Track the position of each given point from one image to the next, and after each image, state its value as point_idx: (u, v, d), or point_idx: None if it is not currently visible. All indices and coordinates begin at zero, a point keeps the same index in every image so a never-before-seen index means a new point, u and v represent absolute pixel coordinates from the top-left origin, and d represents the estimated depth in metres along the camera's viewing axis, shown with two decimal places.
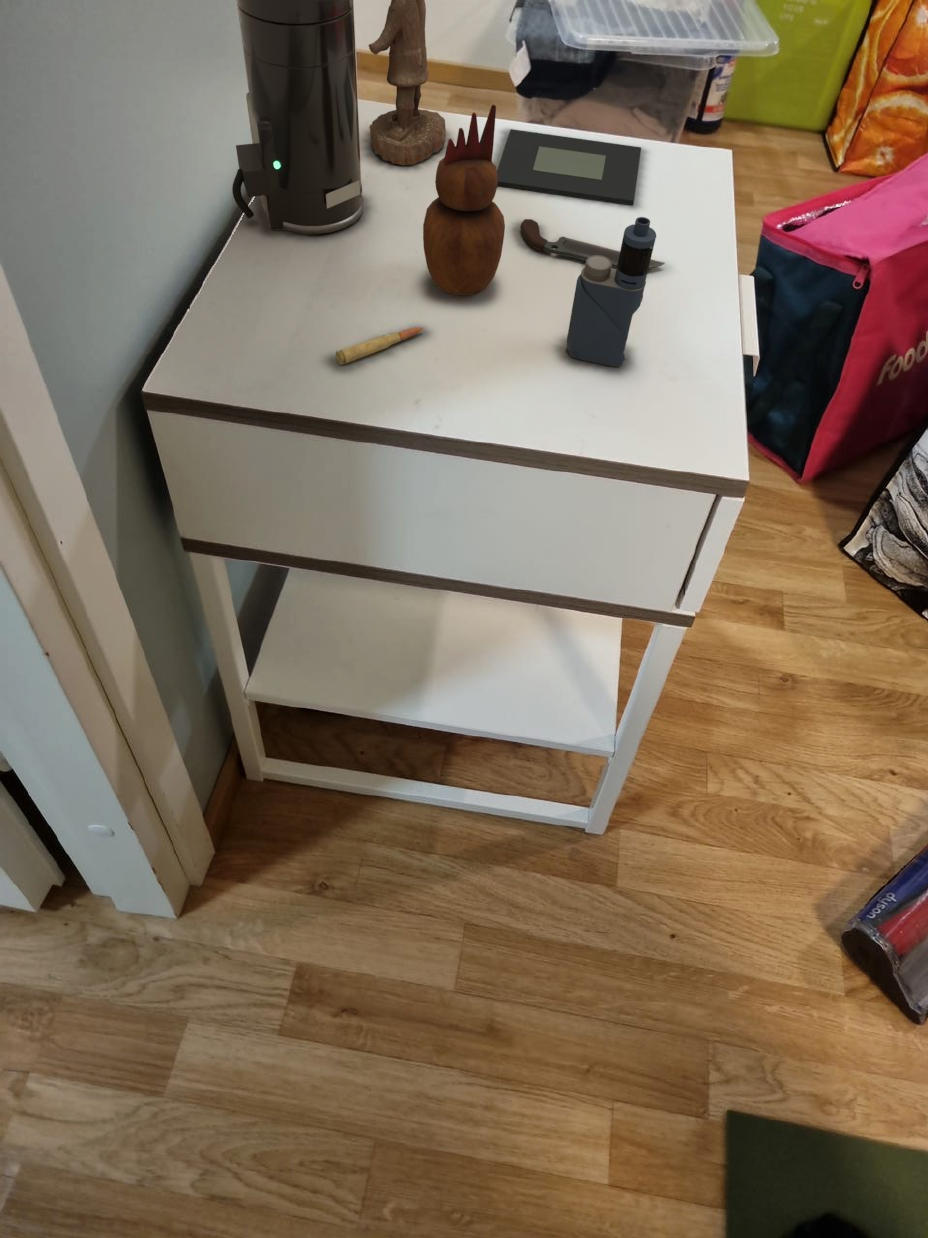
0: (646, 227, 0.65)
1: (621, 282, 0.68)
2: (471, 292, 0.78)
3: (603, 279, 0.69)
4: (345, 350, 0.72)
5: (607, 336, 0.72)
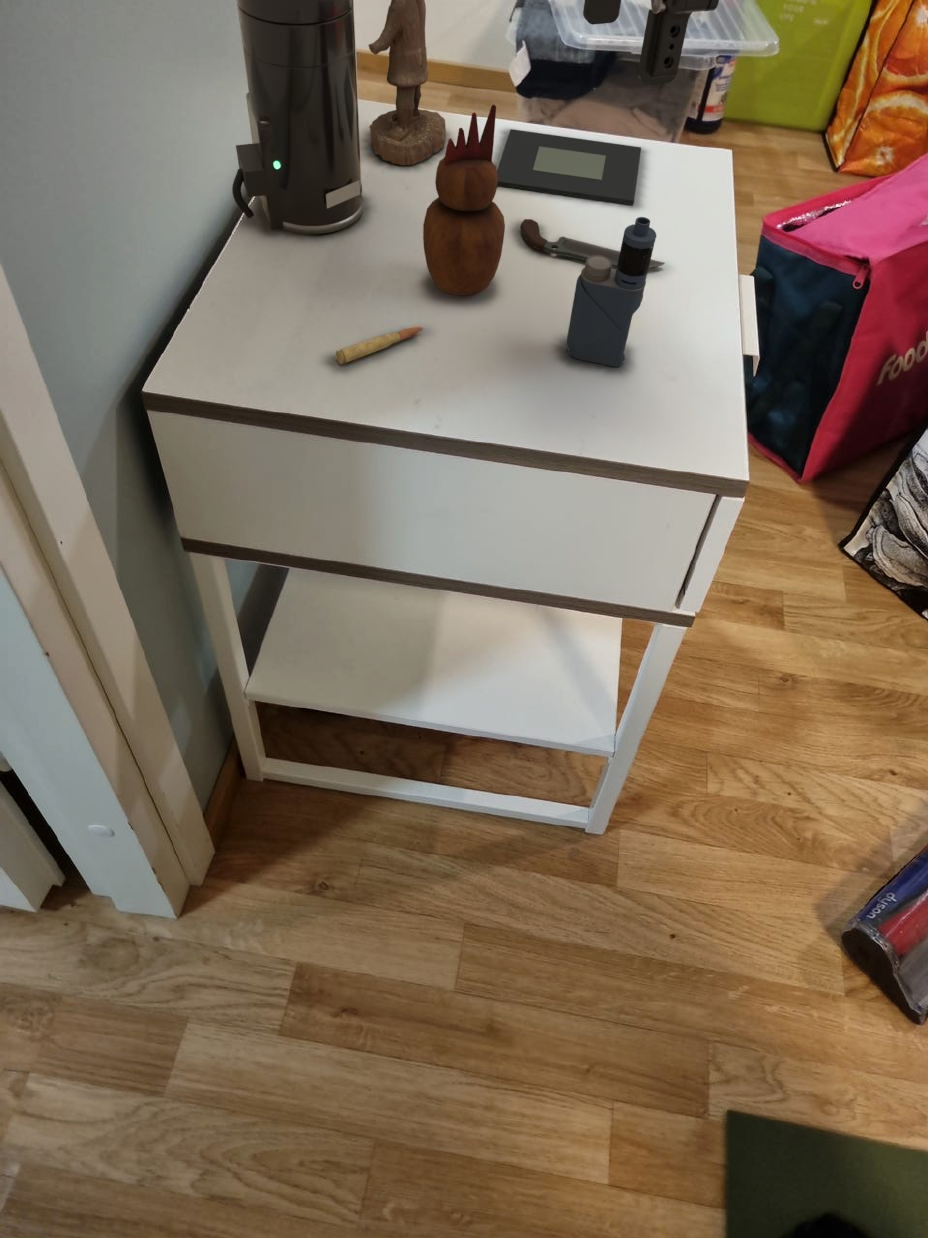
0: (646, 227, 0.65)
1: (621, 282, 0.68)
2: (471, 292, 0.78)
3: (603, 279, 0.69)
4: (345, 349, 0.72)
5: (607, 336, 0.72)
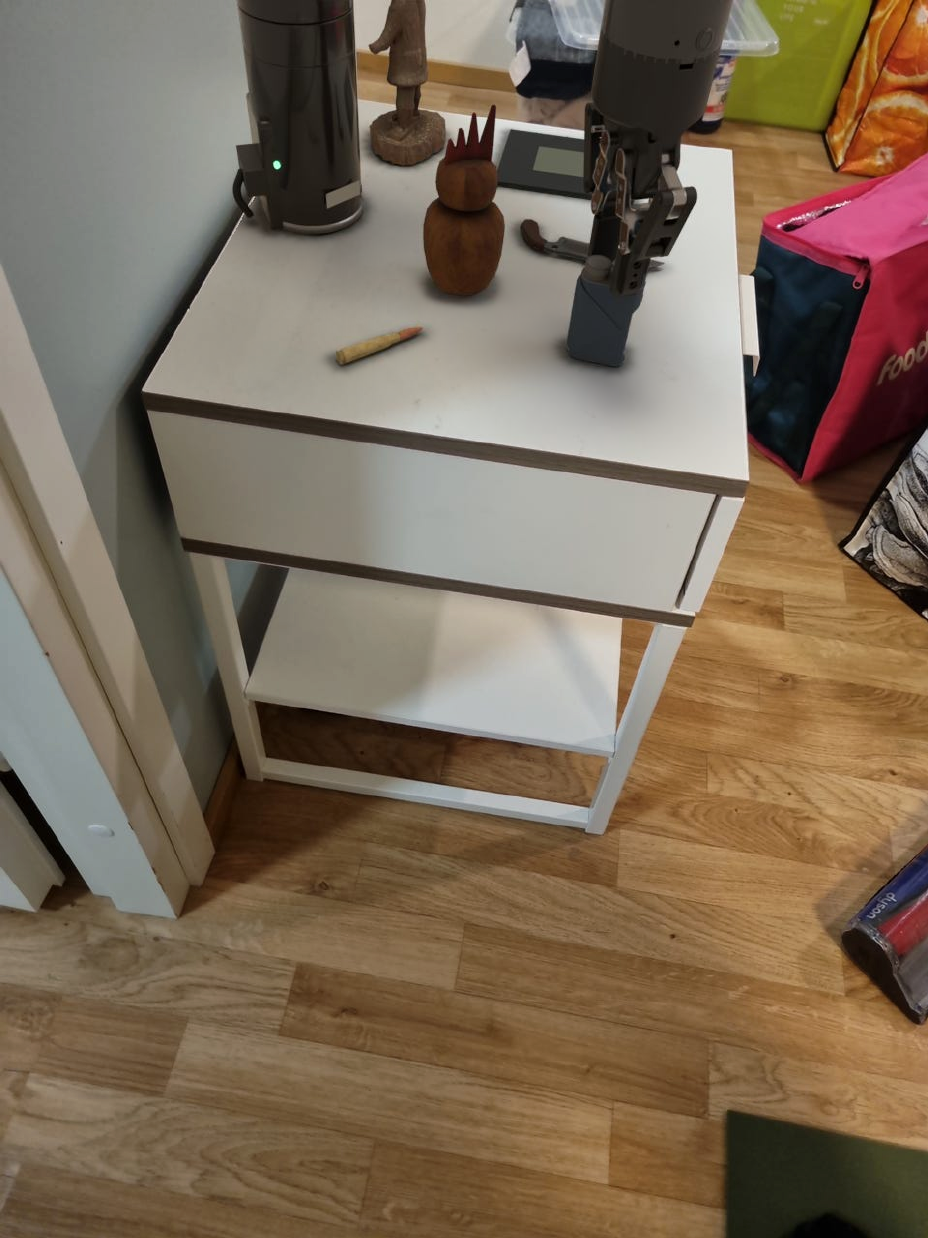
0: None
1: None
2: (471, 292, 0.78)
3: (603, 279, 0.69)
4: (345, 350, 0.72)
5: (607, 336, 0.72)
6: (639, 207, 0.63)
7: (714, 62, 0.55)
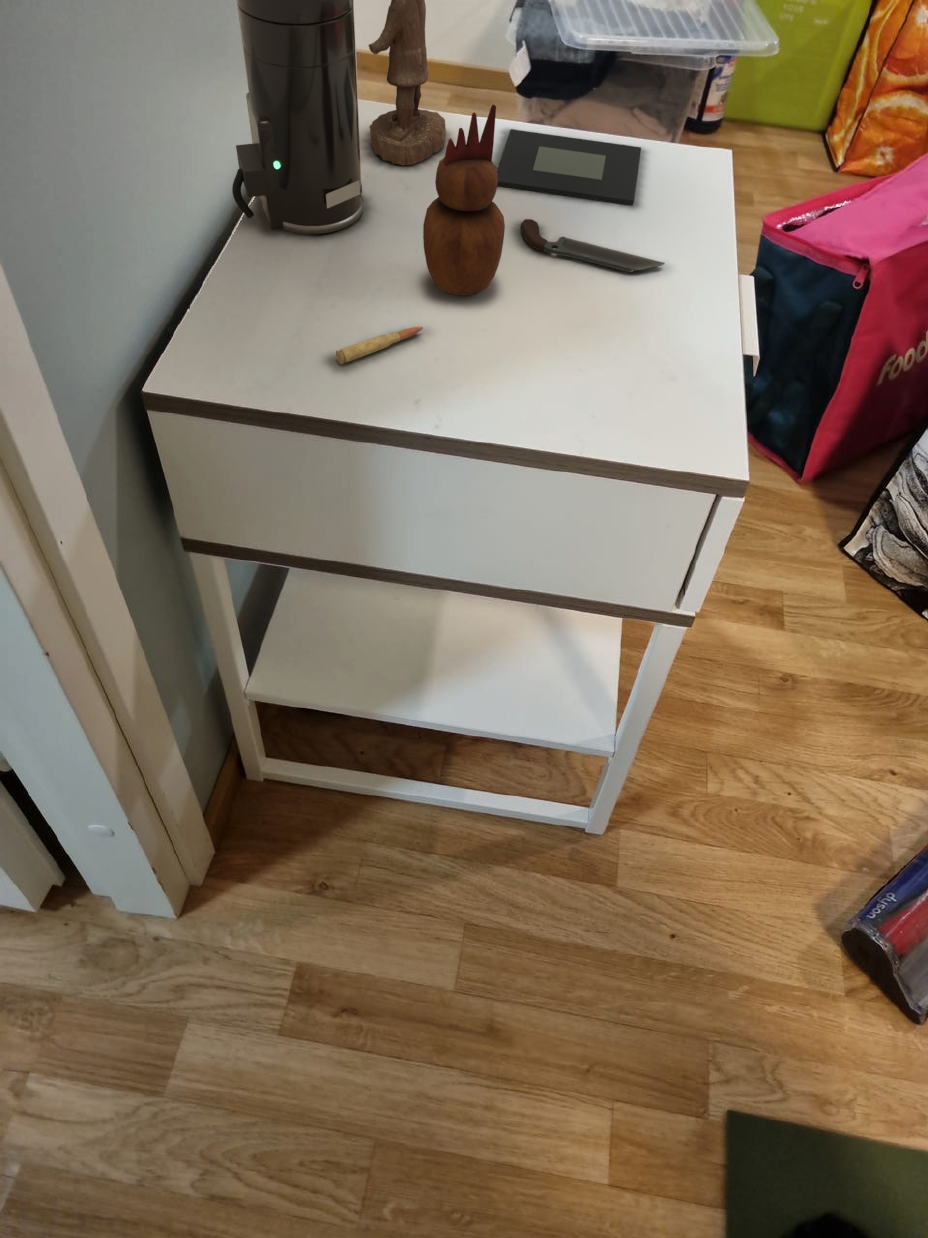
0: None
1: None
2: (471, 292, 0.78)
3: None
4: (345, 349, 0.72)
5: None
6: None
7: None
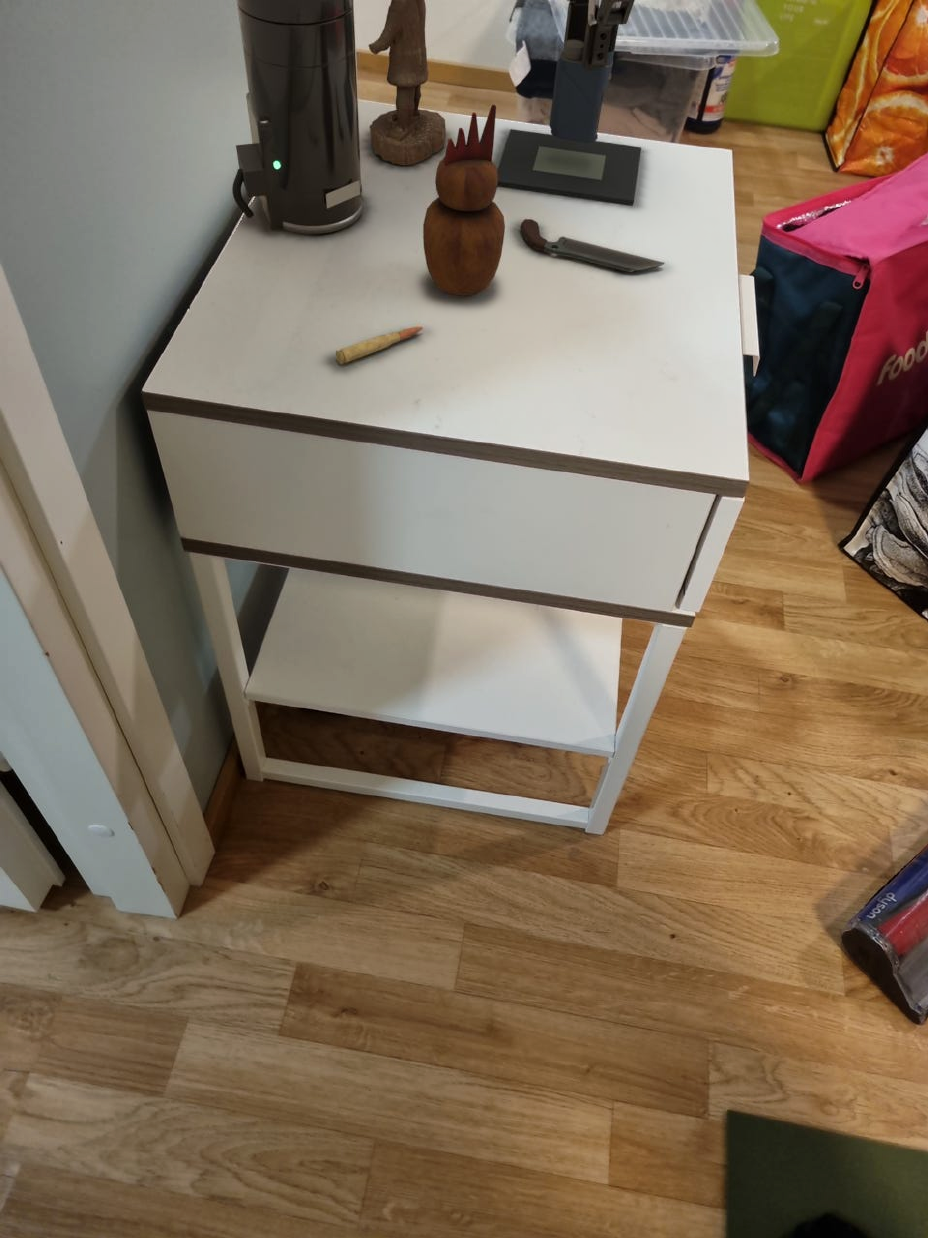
0: None
1: None
2: (471, 292, 0.78)
3: (578, 58, 0.84)
4: (345, 349, 0.72)
5: (583, 113, 0.88)
6: None
7: None
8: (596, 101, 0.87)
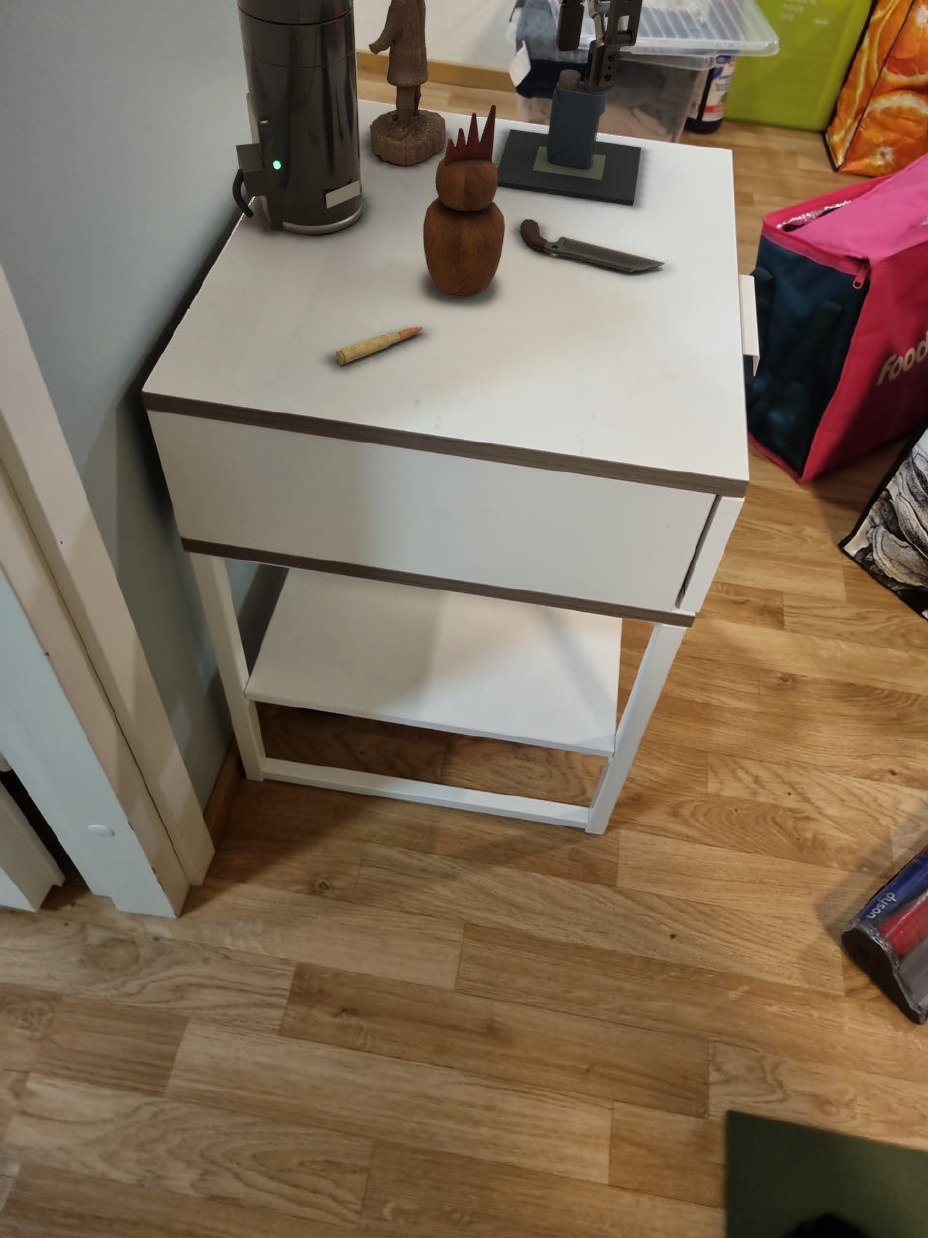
0: None
1: (588, 88, 0.86)
2: (471, 292, 0.78)
3: (574, 87, 0.87)
4: (345, 350, 0.72)
5: (579, 140, 0.90)
6: None
7: None
8: (592, 129, 0.89)
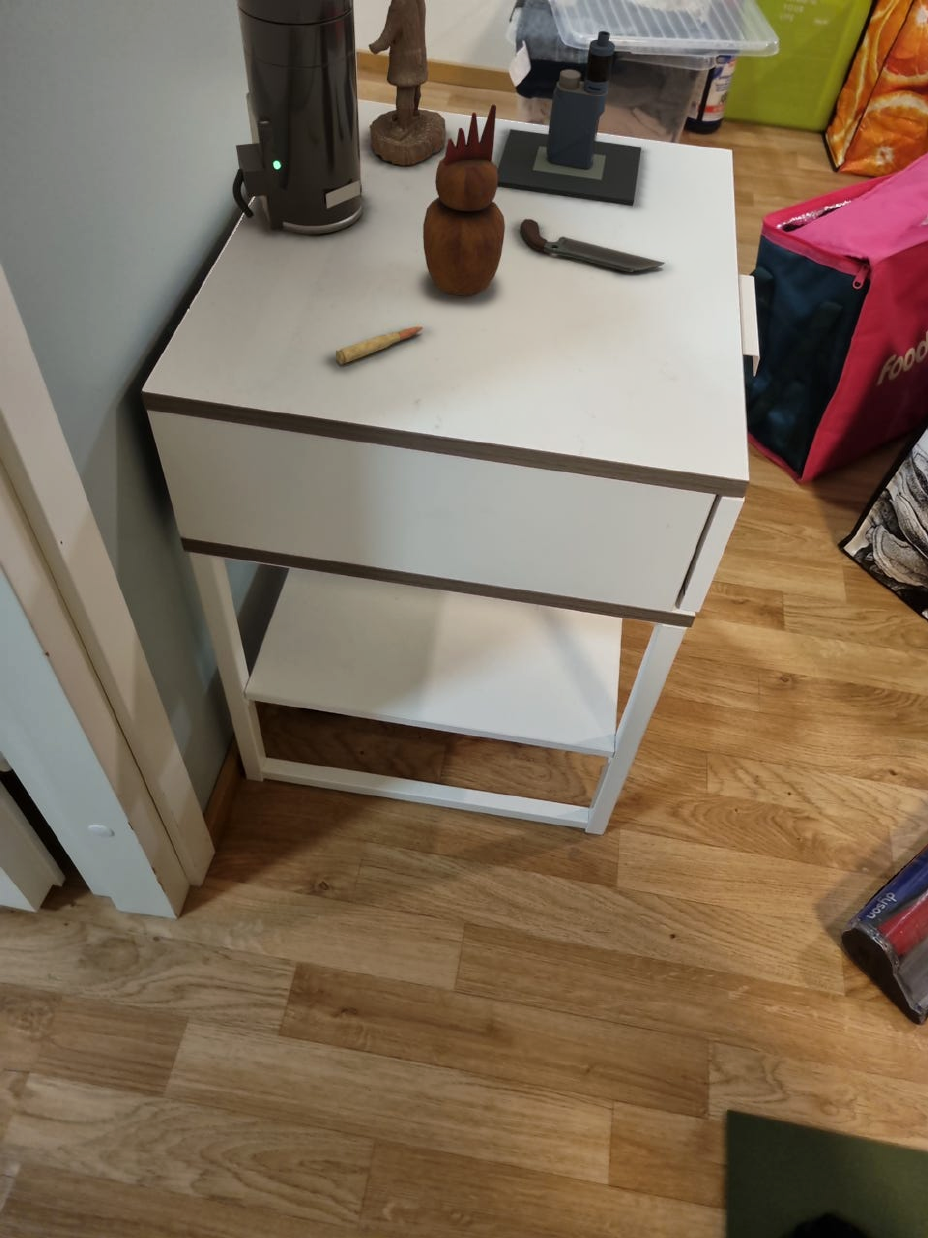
0: (606, 38, 0.83)
1: (588, 88, 0.86)
2: (471, 292, 0.78)
3: (574, 87, 0.87)
4: (345, 349, 0.72)
5: (579, 140, 0.90)
6: None
7: None
8: (592, 129, 0.89)
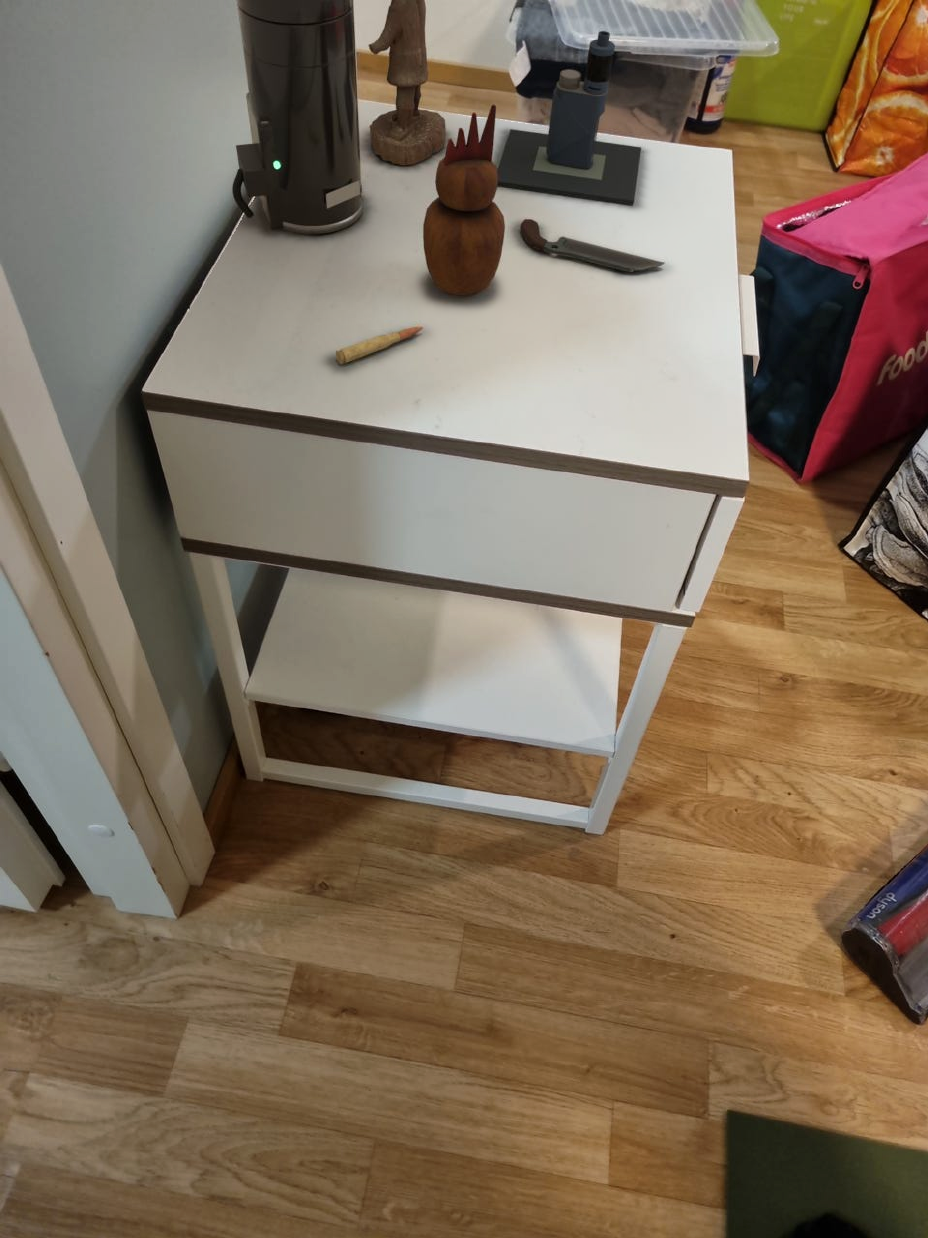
0: (606, 38, 0.83)
1: (588, 88, 0.86)
2: (471, 292, 0.78)
3: (574, 87, 0.87)
4: (345, 349, 0.72)
5: (579, 140, 0.90)
6: None
7: None
8: (592, 129, 0.89)
